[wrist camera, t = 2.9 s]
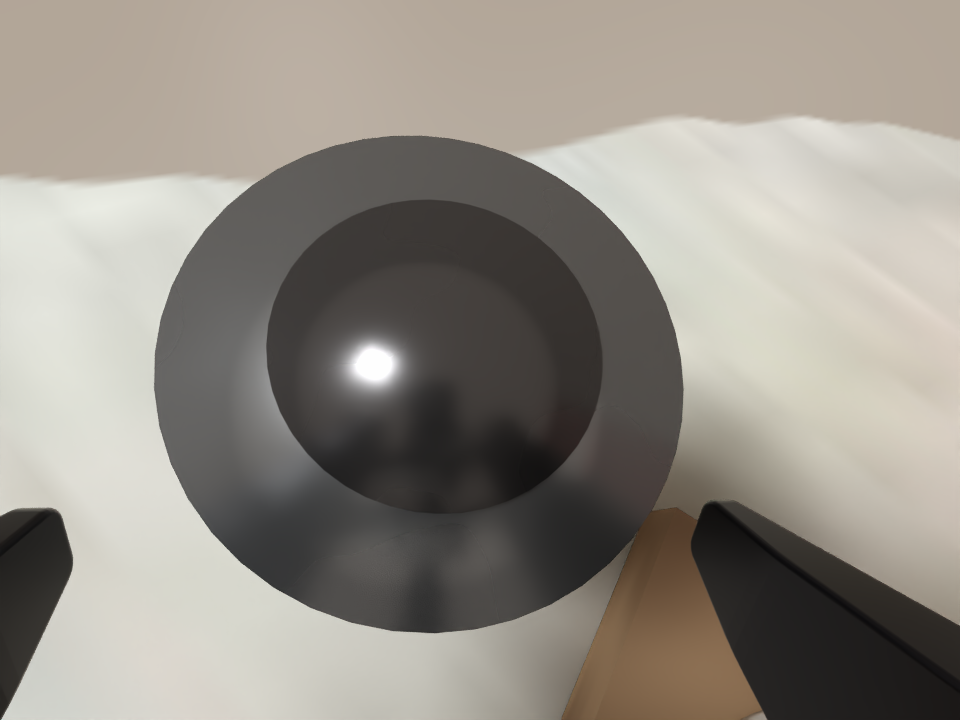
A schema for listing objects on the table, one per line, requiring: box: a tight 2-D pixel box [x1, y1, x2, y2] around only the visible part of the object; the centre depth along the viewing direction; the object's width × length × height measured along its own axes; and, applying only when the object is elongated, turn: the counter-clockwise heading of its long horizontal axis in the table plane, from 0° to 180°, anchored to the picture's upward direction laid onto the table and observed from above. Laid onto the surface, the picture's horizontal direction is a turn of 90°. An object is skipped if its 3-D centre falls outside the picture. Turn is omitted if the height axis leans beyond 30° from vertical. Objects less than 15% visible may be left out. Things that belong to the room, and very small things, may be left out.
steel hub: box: [154, 136, 683, 633], centre depth 11 cm, size 5×5×13 cm
